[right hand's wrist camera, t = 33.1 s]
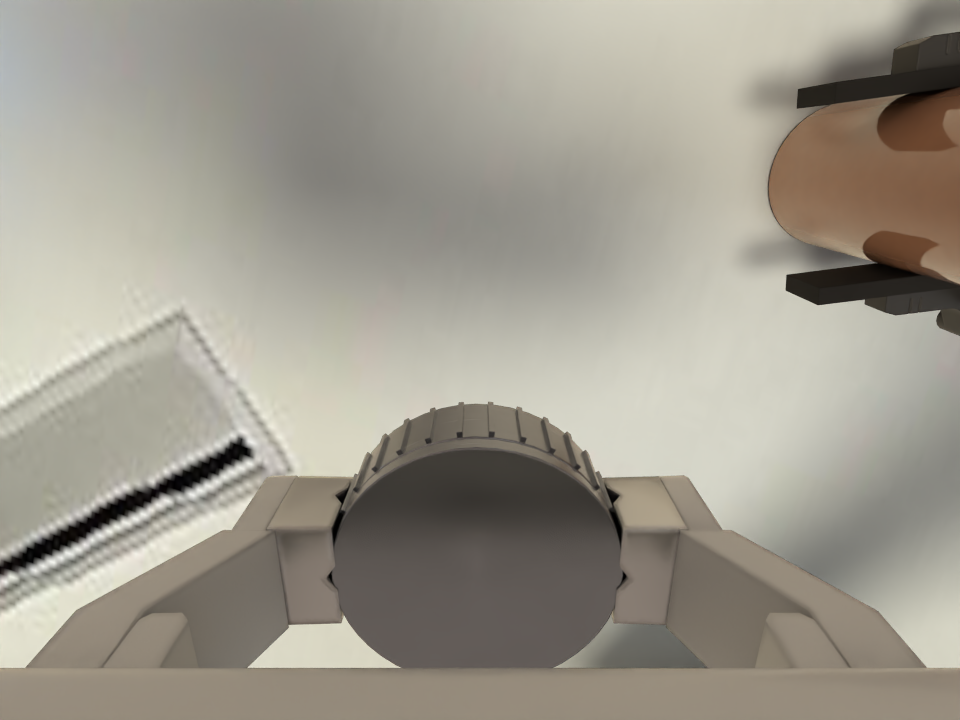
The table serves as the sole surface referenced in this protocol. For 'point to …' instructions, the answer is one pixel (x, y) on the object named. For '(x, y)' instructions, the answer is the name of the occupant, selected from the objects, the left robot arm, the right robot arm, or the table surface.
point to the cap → (477, 543)
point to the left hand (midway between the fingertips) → (808, 198)
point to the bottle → (877, 181)
